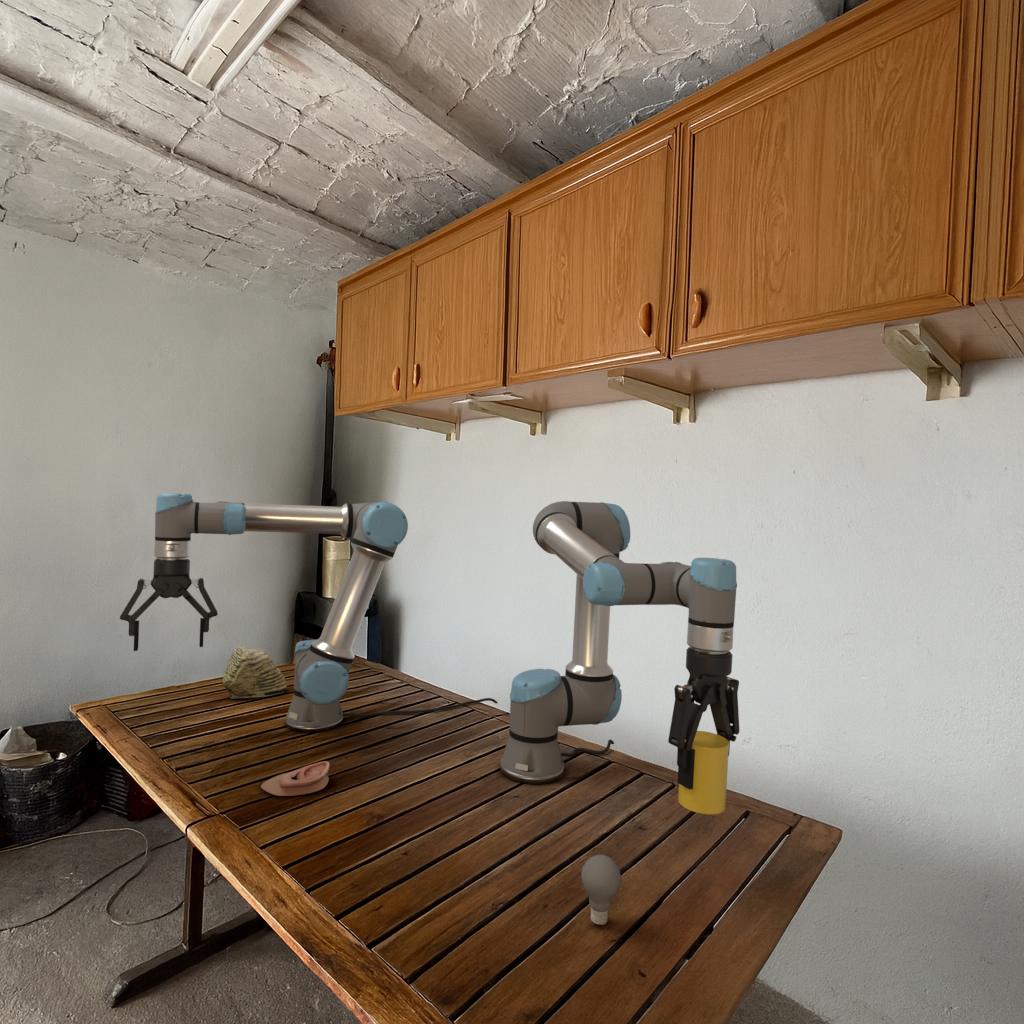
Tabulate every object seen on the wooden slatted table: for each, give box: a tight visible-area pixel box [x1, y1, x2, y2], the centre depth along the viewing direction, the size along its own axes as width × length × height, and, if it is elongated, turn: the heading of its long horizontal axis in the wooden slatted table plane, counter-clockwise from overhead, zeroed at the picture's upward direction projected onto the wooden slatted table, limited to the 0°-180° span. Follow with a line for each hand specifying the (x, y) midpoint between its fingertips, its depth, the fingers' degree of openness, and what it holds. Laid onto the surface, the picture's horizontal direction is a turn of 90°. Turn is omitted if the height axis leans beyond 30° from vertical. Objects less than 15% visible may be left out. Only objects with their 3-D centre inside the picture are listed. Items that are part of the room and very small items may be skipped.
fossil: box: [222, 646, 288, 699], centre depth 198 cm, size 9×18×15 cm, turn 132°
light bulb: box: [580, 854, 622, 926], centre depth 97 cm, size 6×6×10 cm
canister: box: [677, 730, 730, 815], centre depth 109 cm, size 8×8×11 cm
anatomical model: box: [260, 760, 331, 797], centre depth 138 cm, size 13×4×12 cm
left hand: (169, 647), depth 150 cm, fingers open, 13 cm apart
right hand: (702, 780), depth 109 cm, fingers closed on canister, 8 cm apart
